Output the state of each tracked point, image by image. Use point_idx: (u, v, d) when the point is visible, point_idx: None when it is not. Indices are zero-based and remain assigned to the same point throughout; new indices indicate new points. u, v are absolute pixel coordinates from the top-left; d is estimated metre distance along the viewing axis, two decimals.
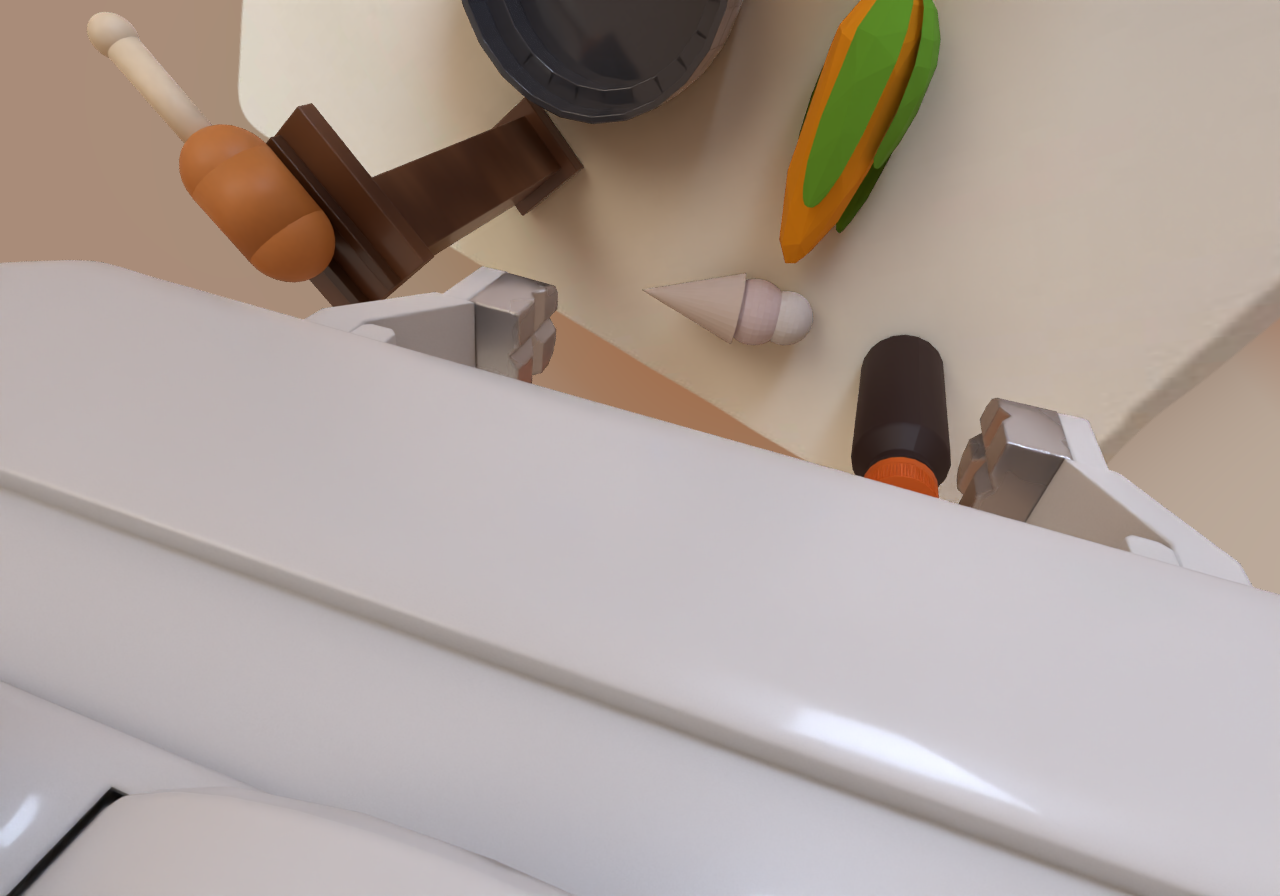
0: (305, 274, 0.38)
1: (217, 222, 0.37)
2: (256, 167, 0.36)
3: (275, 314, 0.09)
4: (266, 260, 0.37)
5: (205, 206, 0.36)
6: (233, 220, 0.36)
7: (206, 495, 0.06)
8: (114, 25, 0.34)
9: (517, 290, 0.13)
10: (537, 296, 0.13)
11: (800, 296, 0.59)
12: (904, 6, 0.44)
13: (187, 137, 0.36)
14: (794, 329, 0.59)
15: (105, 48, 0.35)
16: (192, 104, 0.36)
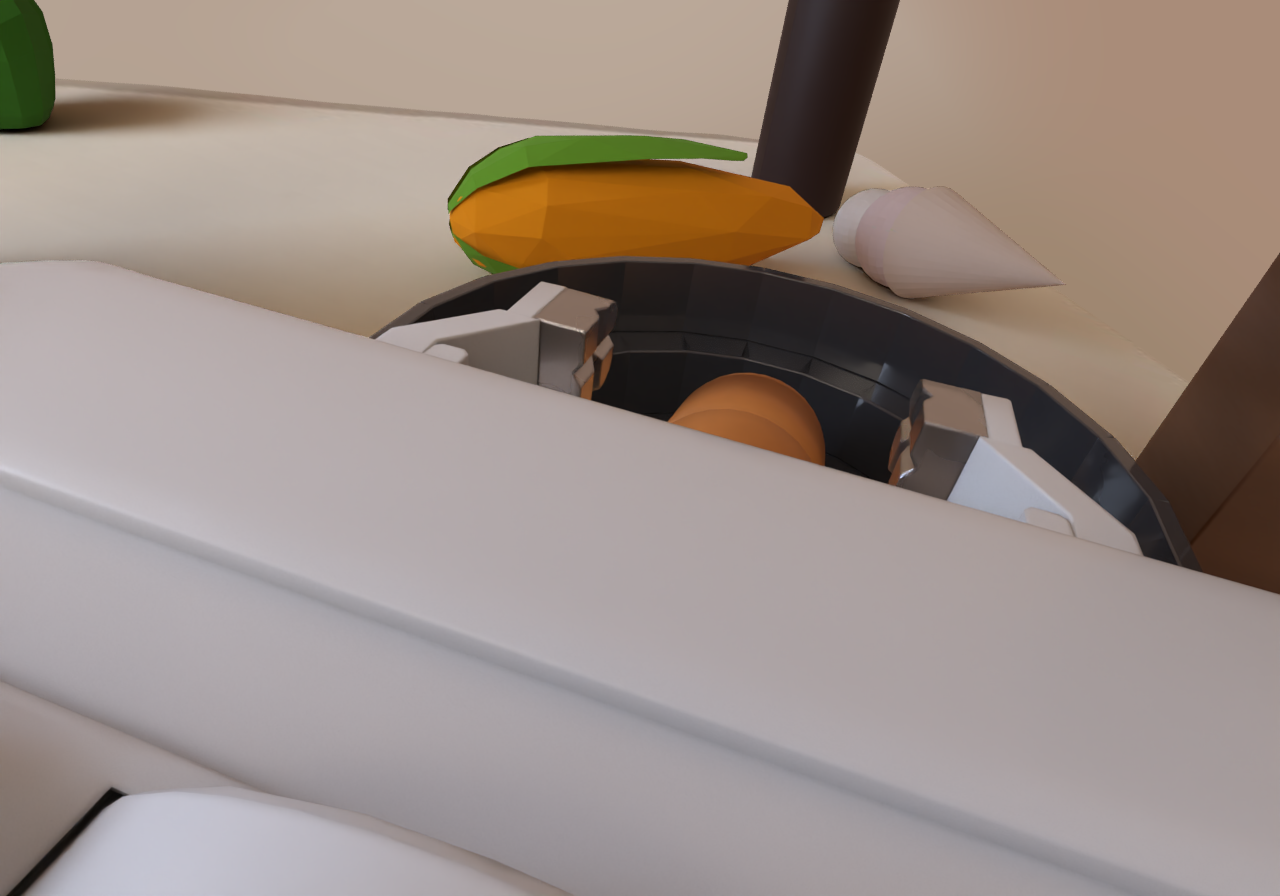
0: None
1: (788, 411, 0.18)
2: None
3: (275, 314, 0.09)
4: (763, 375, 0.21)
5: (778, 415, 0.18)
6: (748, 389, 0.19)
7: (207, 493, 0.06)
8: None
9: (580, 306, 0.12)
10: (599, 312, 0.13)
11: (836, 229, 0.42)
12: (478, 167, 0.32)
13: None
14: (870, 189, 0.42)
15: None
16: None
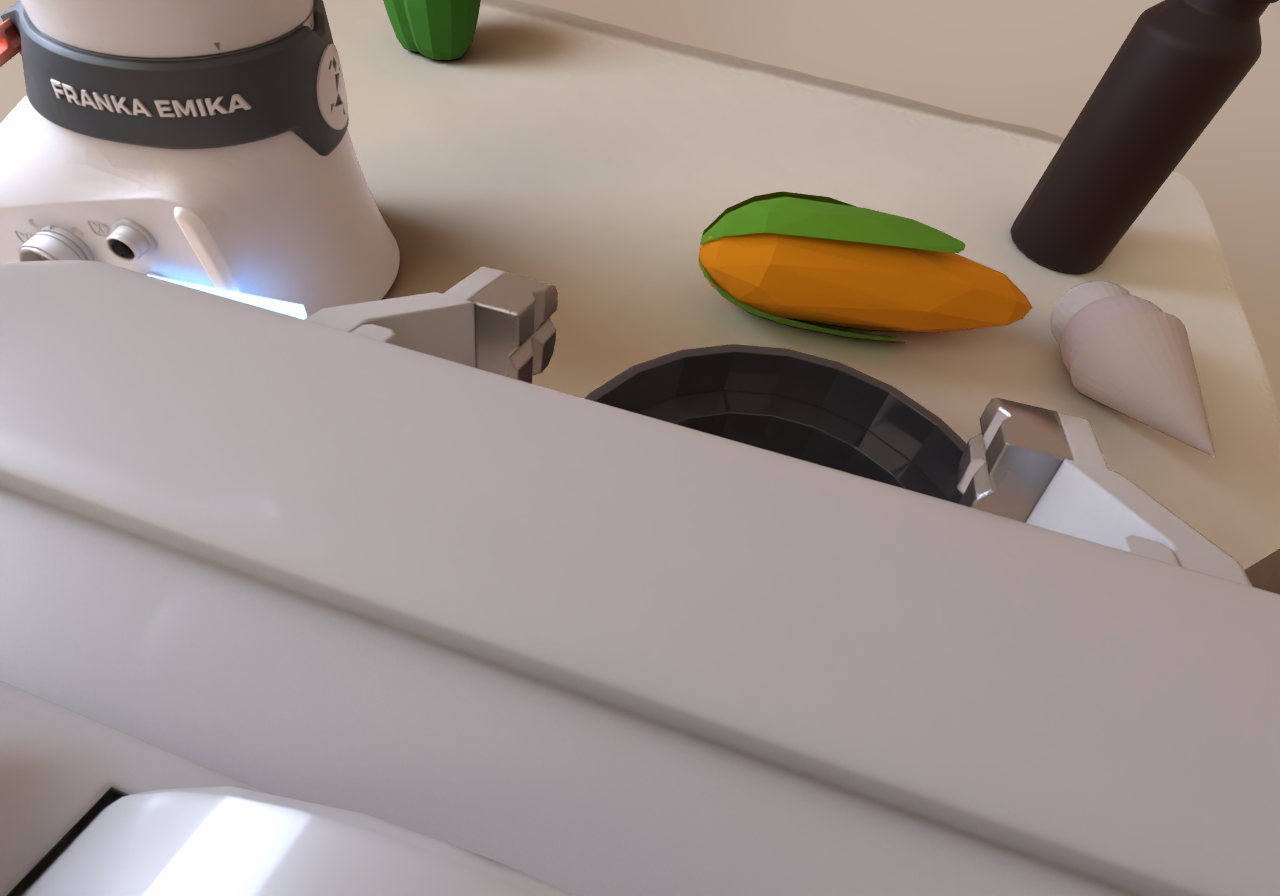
0: None
1: None
2: None
3: (275, 314, 0.09)
4: None
5: None
6: None
7: (207, 493, 0.06)
8: None
9: (517, 290, 0.13)
10: (537, 296, 0.13)
11: (1054, 310, 0.44)
12: (731, 215, 0.40)
13: None
14: (1105, 282, 0.43)
15: None
16: None
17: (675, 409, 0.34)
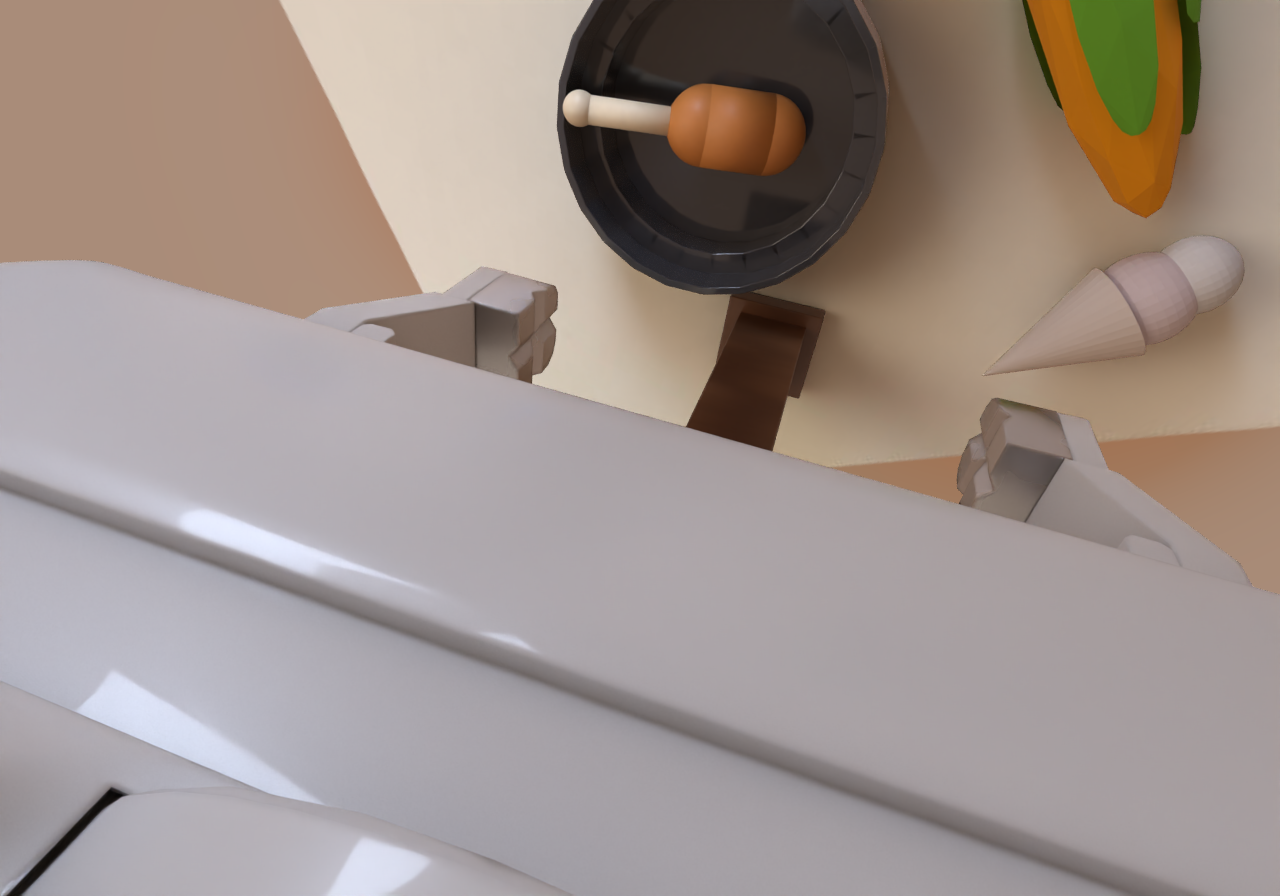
0: (803, 140, 0.44)
1: (730, 154, 0.43)
2: (727, 90, 0.42)
3: (275, 314, 0.09)
4: (781, 144, 0.43)
5: (717, 149, 0.43)
6: (743, 136, 0.42)
7: (205, 495, 0.06)
8: (581, 93, 0.43)
9: (517, 290, 0.13)
10: (537, 296, 0.13)
11: (1194, 238, 0.41)
12: None
13: (668, 121, 0.43)
14: (1225, 278, 0.40)
15: (585, 114, 0.43)
16: (650, 103, 0.44)
17: None
